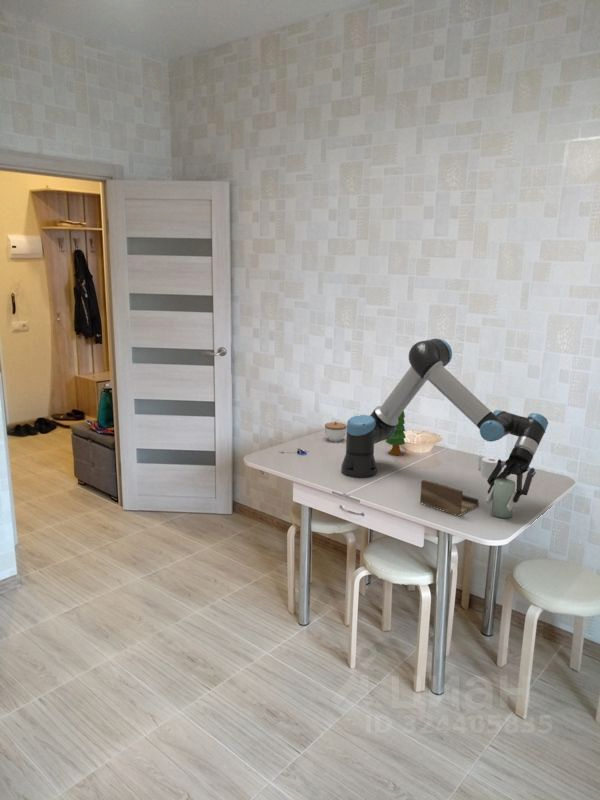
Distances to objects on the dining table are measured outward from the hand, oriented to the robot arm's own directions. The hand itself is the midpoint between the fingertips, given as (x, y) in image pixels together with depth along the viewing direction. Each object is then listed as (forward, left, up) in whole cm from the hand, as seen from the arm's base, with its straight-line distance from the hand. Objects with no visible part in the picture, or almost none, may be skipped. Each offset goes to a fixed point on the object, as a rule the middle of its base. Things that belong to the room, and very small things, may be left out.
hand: (498, 505), depth 214 cm
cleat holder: (-13, +12, -4) cm, 19 cm away
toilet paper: (+16, +45, -5) cm, 48 cm away
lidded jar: (-42, +99, -5) cm, 107 cm away
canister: (+3, +2, -4) cm, 5 cm away
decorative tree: (-17, +76, -5) cm, 78 cm away
